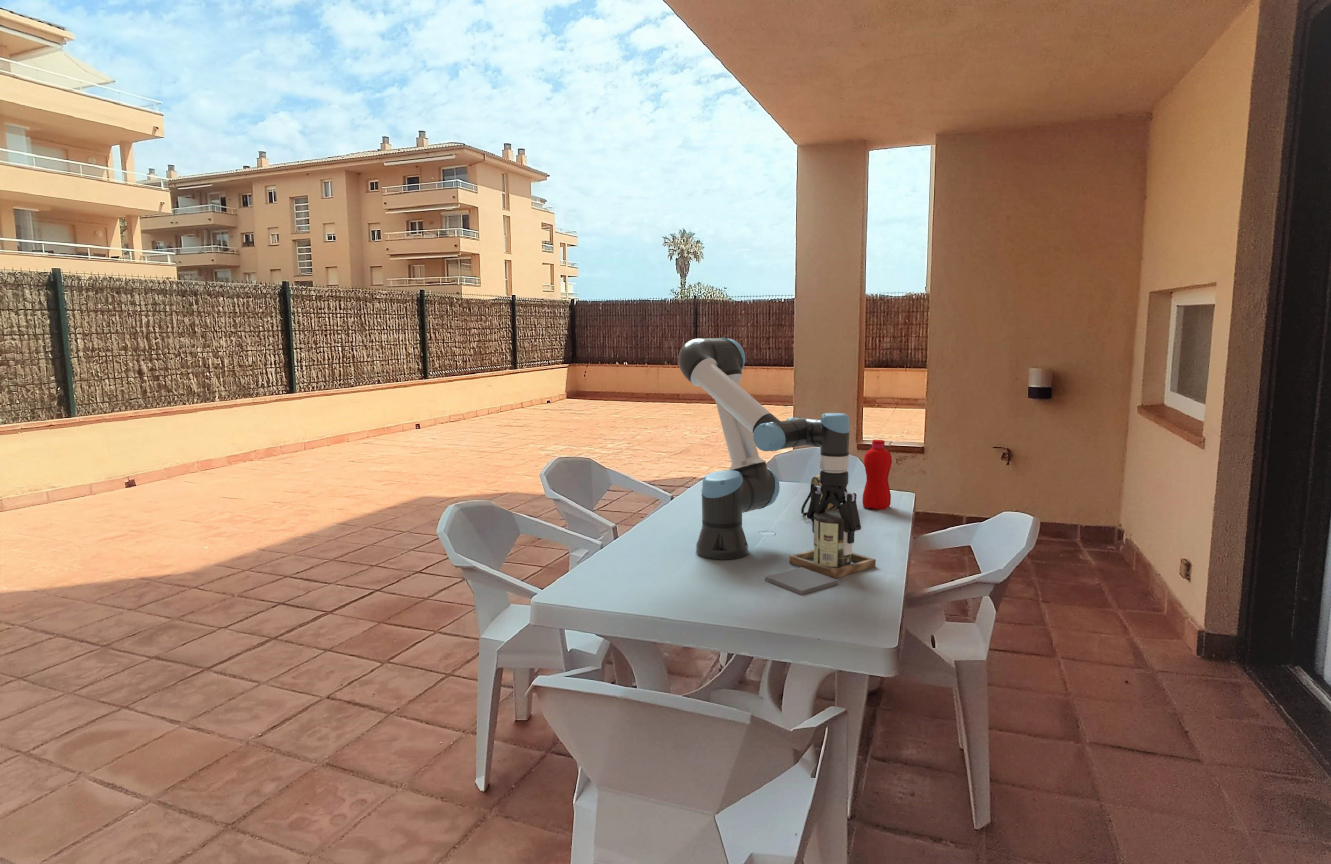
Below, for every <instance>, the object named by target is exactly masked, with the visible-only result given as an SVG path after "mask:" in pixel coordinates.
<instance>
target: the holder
mask: <svg viewBox="0 0 1331 864" xmlns="http://www.w3.org/2000/svg"><path fill="white" fill-rule="evenodd" d="M810 558H813V559H814V549H810V550H806V551H803V552H799V553H795V554H791V555H789V558H788V559H789V564H792V565H794V566H797V565H798V567H803V568H805V569H808V570H812V571H814V572H817V573H819V574H822V575H825V576H828V577H831V578H834V579H838V578H841V577H845V576H848V575H850V574H851V573H852V574H855V573H858V571H859V572H861V570H862V571H865V570H864V569H866V570H869V569H872V568H876V561H877V560H876V559H875V558H872V557H869V556H865V555H862V554H859V553H856V552H853V551H852V554H851V560H853V561H852V562H853V563H851V565H847V566H844V567H840V568H836V569H832V568H829V567H826V566H824V565H821V564H818V563H815V562H814V561H812V560H811V559H810ZM807 559H809V560H807ZM854 561H856V562H854ZM857 562H858V563H857ZM868 568H869V569H868ZM852 574H851V575H852Z"/></svg>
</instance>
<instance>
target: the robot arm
mask: <svg viewBox="0 0 1331 864" xmlns="http://www.w3.org/2000/svg"><path fill="white" fill-rule="evenodd" d="M677 362H678V366H679V370H680V371H681V373H682V375H683V376H684V378H686V380H688V381H689V382H690V383H691V384H692V385H693V386H695V387H700V388H702V390H704V392H706V393H707V394H708V396H710V397H711V398H713V400H715V404H716V408H717V413H718V417H719V420H720V424H721V429H722V431H723V432H722V433H723V435H724V440H725V443H726V447H727V450H728V455H729V458H730V462H731V466H730V467H729V469H726V470H725V469H724V470H717V471H713V472H710V473H708V474H706V475H705V476H703V479H702V482H701V485H702V487H701V518H702V519H701V529H700V532H699V536H698V540H697V542H696V544H695V545H696V546H695V547H696V548H695V552H696V554H697V555H698V556H700V557H703V558H707V559H711V560H712V559H713V560H735V559H740V558H743V557H745V556H746V555H748V554H749V544H748V542H747V539H746V538H747V537H746V535H745V531H744V529H743V513H747V512H752V511H755V510H762V509H764V508H766V507H768V506H771V505H772V504H773V503H775V501H776V500H777V498H778V496H779V494H780V481H779V478H778V476H777V474H776V472H774V471H773V470H772V469H771V468H768V466H767V462H766V460H764V459H763V458H761V457H760V455H759V451H758V450H760V451H763V452H775V451H780V450H785V449H789V448H790V449H791V448H795V447H796V448H797V447H801V446H811V447H812V446H813V447H817V448H818V447H819V448H820V461H819V463H820V464H819V468H820V471H819V474H820V483H821V484H822V485H821V486H820V485H818V486H813V487H812V497H810V502H809V505H808V510H807V512H808V513H806V518H807V519H808V520H811V522H812V525H811V526H812V528H811V529H812V534H814V514H815V513H823V512H825V511H826V509H827V507H828V505H829V504H830V503H831V504H833V505H834V506H835V508H836V509H837V510H838V511H839V513H840V515H841V518H842V519H844V526H845V528H846V531H844V539H843V555H845V556H846V555H849V554H852V552H853V544H854V543H855V532H857V531H860V530H861V529H862V526H861V525H862V524H861V521H860V515H859V510H858V505H857V493H855V492H853V493H852V492H848V489H847V487H848V484H849V471H848V470H849V464H850V463H849V462H850V461H849V457H850V455H849V454H850V453H849V452H850V451H849V450H850V433H851V429H850V417H849V415H848V414H847V413H844V412H825V413H822V414H821V417H820V419H816V418H807V417H806V418H805V417H802V416H793V417H792V416H791V417H787V419H786V420H780V419H778V417H776V416H775V415H774V414H772V413H771V412H770V411H769V410H768V409H767V408H765V407H764V406H763V405H762V404H761V403H760V402H759V401H758V400H756V399H755V398H754V397H753V396H752V395H751V394H749V393H748V392H747V391H746V390H745V389H744V388H742V387H741V383H740V382H741V380H742V378H743V370H744V368H745V364H746V353H745V351H744V349H743V347H742V345H741V344H740V343H739V342H738V341H736V340H735V339H732V338H727V337H714V338H713V337H712V338H708V337H707V338H702V337H701V338H700V337H698V338H693V339H690V340H688V341H687V342H686V343H685V344H683V345H682V347H681V349H680V351H679V353H678V357H677ZM821 493H822V495H823V496H822V498H821ZM820 498H821V500H820ZM819 502H820V504H819Z"/></svg>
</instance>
